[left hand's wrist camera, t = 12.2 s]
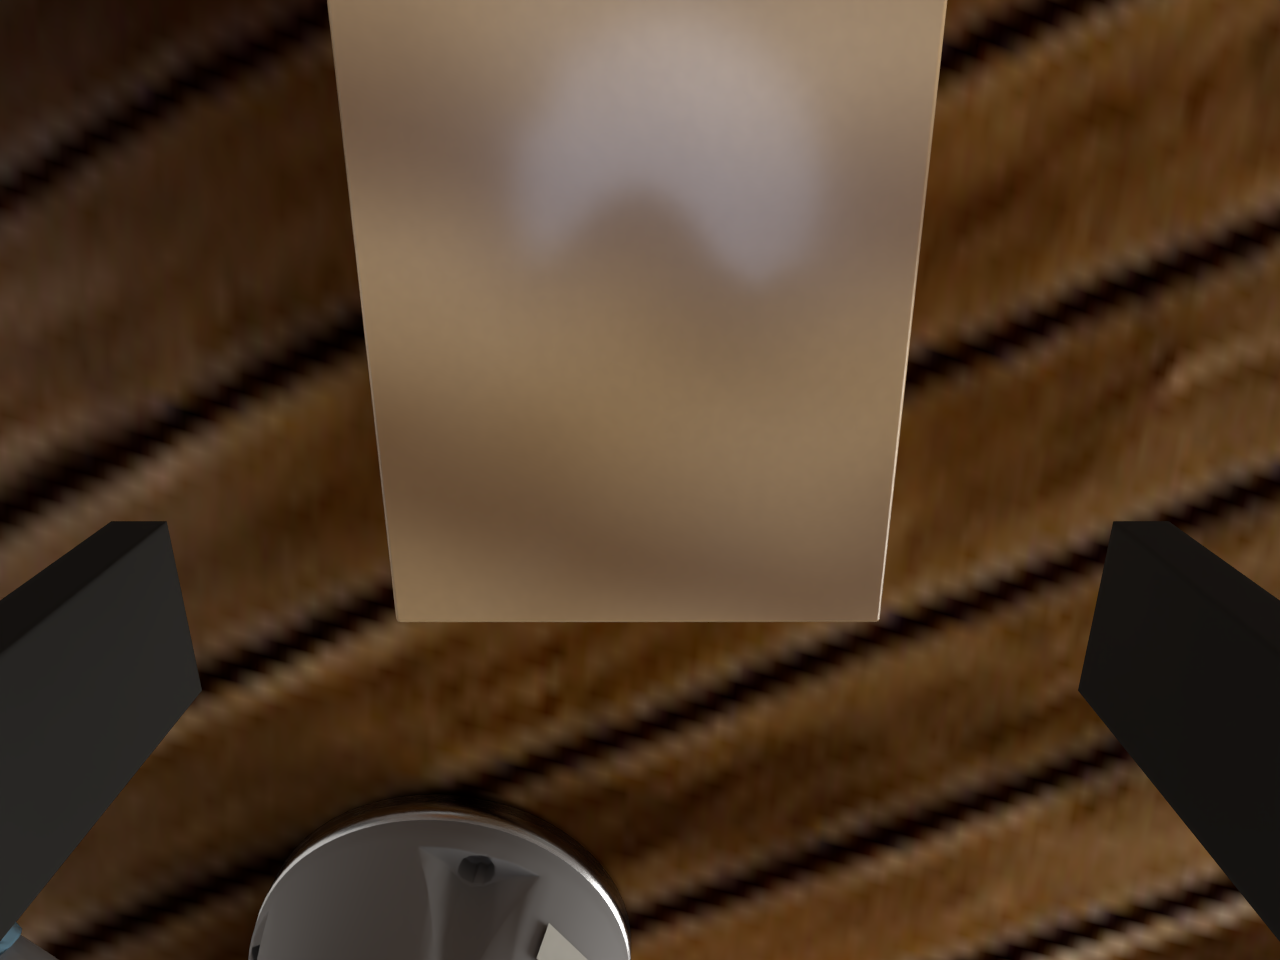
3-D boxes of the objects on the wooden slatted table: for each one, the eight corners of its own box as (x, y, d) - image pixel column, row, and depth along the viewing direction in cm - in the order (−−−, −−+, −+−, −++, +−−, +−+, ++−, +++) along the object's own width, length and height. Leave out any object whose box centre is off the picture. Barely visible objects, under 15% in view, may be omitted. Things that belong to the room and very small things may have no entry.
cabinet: (438, -216, 23) (266, -526, 12) (837, -216, 23) (1006, -526, 12) (483, 452, 30) (395, 623, 19) (793, 452, 30) (880, 623, 19)
